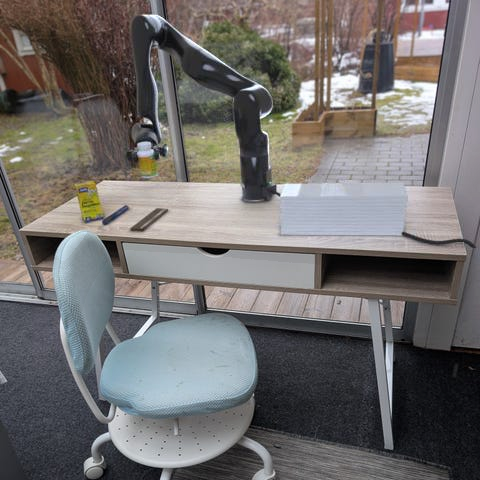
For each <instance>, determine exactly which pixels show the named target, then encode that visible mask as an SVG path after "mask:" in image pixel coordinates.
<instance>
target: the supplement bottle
mask: <svg viewBox="0 0 480 480" xmlns="http://www.w3.org/2000/svg"><path fill="white" fill-rule="evenodd" d="M137 146H138V149H139V151H138V152H137V159H138V163H137V164H138V168H139V174H140V177H141V178H142V179H153V178H156V177H158V175H159V169H158V163H157V161H156V159H155V152H154V150H152V149H151V143H150V142H141V143H138V144H137Z"/></svg>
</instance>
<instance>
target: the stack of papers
mask: <svg viewBox="0 0 480 480" xmlns="http://www.w3.org/2000/svg"><path fill="white" fill-rule="evenodd" d="M280 194H281V195H280V197H279V218H280V220H279V221H280V223H279V224H280V235H281V236H396V237H397V236H403V237H404V235H402V234H401V233H402V232H405V231H404V228H405V221H406V214H407V206H408V198H409V195H408V192H407V188H406V186H405V183H404V182H403V181H401V182H399V181H398V182H394V181H393V182H389V181H388V182H336V183H335V182H333V183H332V182H327V183H326V182H323V183H322V182H318V183H316V182H315V183H314V182H313V183H283V185H282V189H281V191H280Z"/></svg>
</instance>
